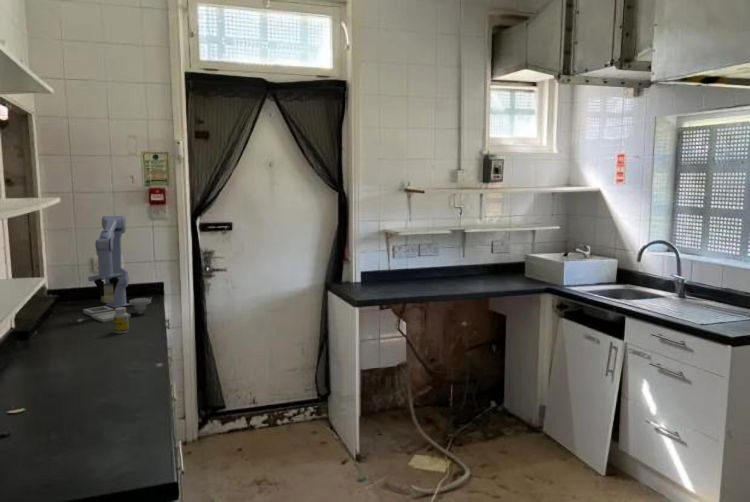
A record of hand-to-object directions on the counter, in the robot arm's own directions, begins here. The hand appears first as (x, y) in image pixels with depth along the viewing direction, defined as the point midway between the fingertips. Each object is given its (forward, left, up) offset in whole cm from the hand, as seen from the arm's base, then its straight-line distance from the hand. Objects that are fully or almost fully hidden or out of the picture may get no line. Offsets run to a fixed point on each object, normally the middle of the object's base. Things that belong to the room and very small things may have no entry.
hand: (107, 295), depth 254 cm
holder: (-11, 0, -10) cm, 15 cm away
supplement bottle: (+29, -7, -10) cm, 32 cm away
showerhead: (+5, +13, -10) cm, 17 cm away
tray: (+3, 0, -10) cm, 10 cm away
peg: (0, 0, -3) cm, 3 cm away
